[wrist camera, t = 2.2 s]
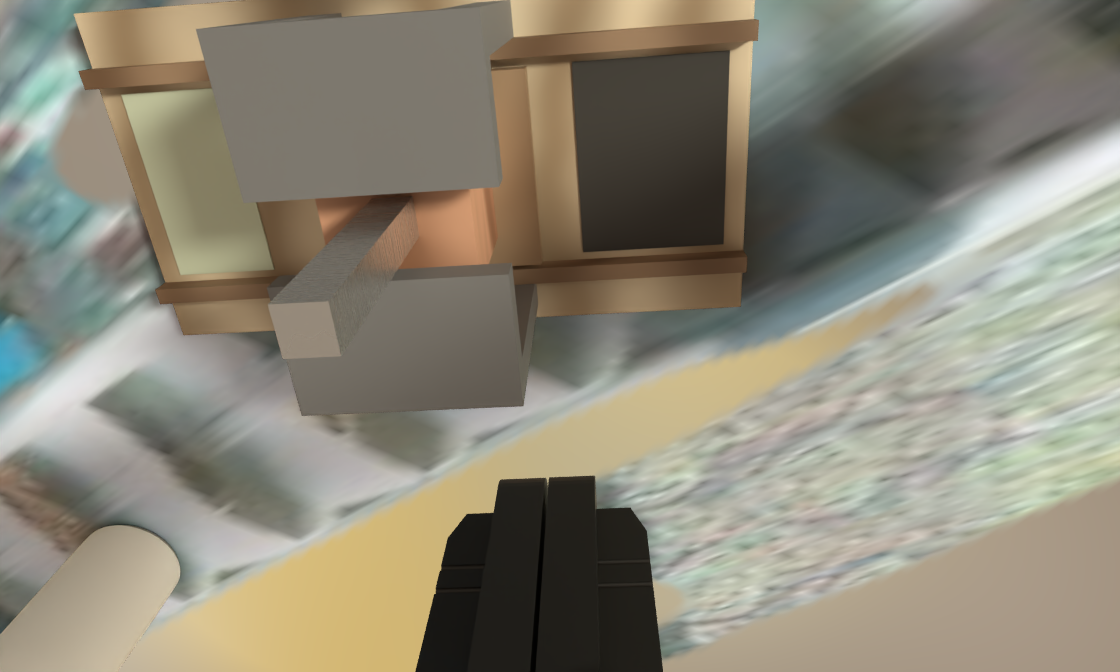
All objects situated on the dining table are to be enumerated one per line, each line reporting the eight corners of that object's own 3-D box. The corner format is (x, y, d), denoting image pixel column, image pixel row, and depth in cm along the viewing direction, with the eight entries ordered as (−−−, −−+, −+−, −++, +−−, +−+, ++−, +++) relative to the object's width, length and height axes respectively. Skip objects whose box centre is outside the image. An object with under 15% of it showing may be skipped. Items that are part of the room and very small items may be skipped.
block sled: (526, 66, 32) (472, 144, 16) (543, 257, 36) (512, 463, 20) (306, 82, 32) (57, 171, 17) (347, 268, 36) (174, 476, 21)
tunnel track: (749, -40, 31) (831, -51, 21) (735, 295, 38) (790, 411, 28) (94, 12, 33) (-131, 26, 23) (197, 323, 40) (61, 442, 30)
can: (92, 508, 46) (-56, 666, 36) (191, 539, 47) (75, 702, 37) (82, 575, 49) (-59, 741, 38) (176, 603, 50) (64, 773, 39)
